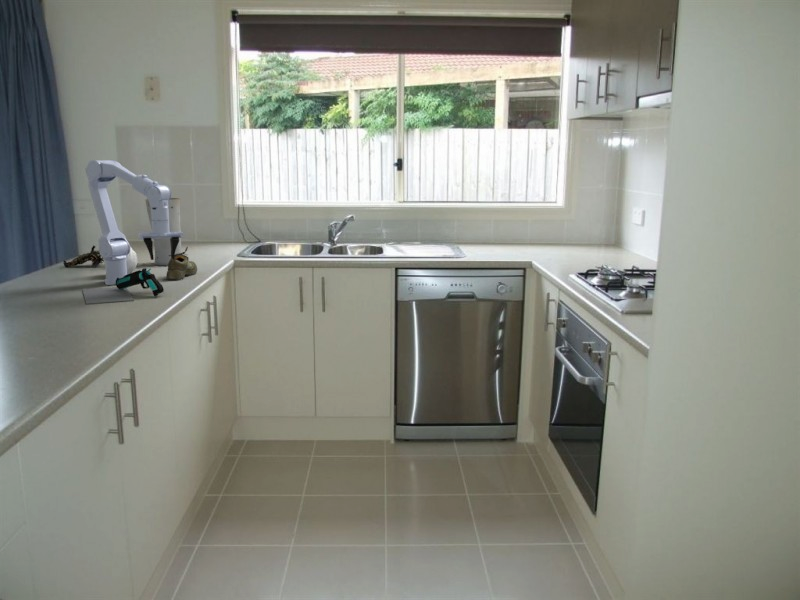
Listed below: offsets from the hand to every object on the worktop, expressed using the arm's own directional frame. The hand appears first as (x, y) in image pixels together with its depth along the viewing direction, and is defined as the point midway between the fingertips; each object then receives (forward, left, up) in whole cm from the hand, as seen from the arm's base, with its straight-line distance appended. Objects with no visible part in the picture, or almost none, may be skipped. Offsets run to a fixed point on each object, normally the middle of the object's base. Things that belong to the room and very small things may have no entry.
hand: (162, 259), depth 236 cm
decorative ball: (-31, -11, -11) cm, 35 cm away
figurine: (-59, -22, -11) cm, 64 cm away
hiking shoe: (-22, +10, -11) cm, 27 cm away
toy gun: (+6, -9, -10) cm, 15 cm away
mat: (+6, -19, -10) cm, 22 cm away
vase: (-54, +9, -11) cm, 56 cm away
